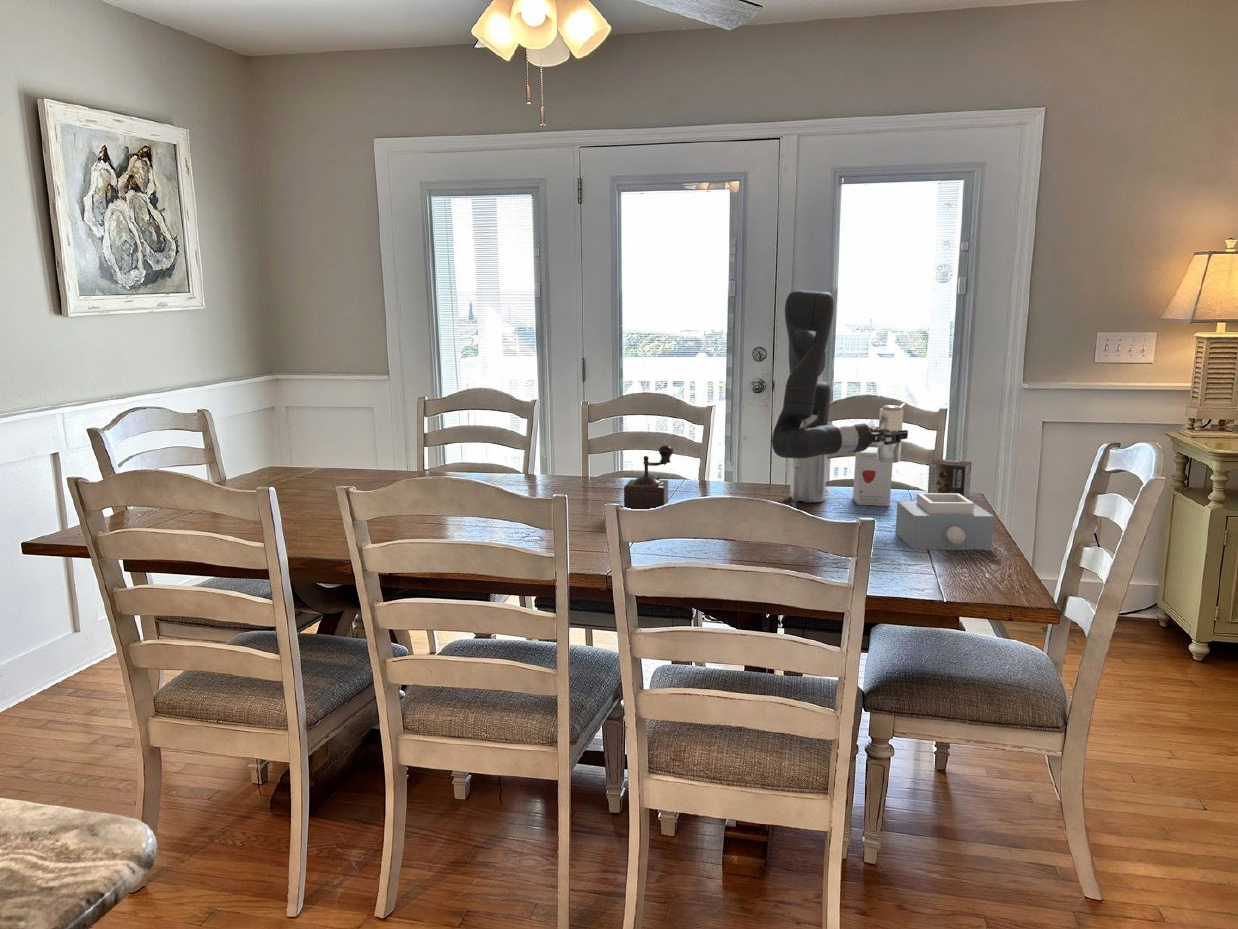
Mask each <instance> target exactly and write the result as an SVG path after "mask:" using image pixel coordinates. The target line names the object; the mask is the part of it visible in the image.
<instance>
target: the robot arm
mask: <svg viewBox="0 0 1238 929" xmlns="http://www.w3.org/2000/svg"><path fill="white" fill-rule="evenodd" d="M834 301H835V300H834V296H833V295H832V294H831V293H830V292H827V291H825V292H824V291H814V290H813V291H812V290H803V289H802V290H792V291H791V292H790V293H789V294H788V295H787V298H786V300H785V304H784V320H785V325H786V326H785V327H786V332H787V339H788V366H789V376H788V378H787V380H786V384H785V390H784V398H783V404H782V410H781V411H780V414H779V416H778V419H777V422H776V424H775V427H774V429H773V432H772V437H771V447H772V450H773V452H774V454H775V455H776V456H778V457H780V458H785V459H792V463H791V465H790V487H789V488H790V490H789V491H790V492H789V497H790V498H791V497H792V498H793V500H799V501H803V502H802V503H812V502H813V503H821V502H824V501H825V500H826V499H825V498H826V482H827V481H826V480H827V479H826V478H827V477H826V476H827V459H828V458H827V456H828V455H831V454H837V455H840V454H841V455H842V454H843V455H844V454H850V453H856V452H861V451H864V450H866V449H867V448H868V447H870V445H878V443H884V444H885V445H889V444H894V443H900V442H901V443H902V440H907V439H908V436H909V431H908V430H907V429H902V430H898V431H897V430H894V431H889V430H888V429H879V426H876V425H868V424H866V423H865V422H864V421H861V420H856V421H846V422H845V421H844V422H837V423H833V424H829V414H830V405H831V386H830V384H829V383H828V382H827V381H818V380H819V377H820V376H821V375H822V374H823V372H824V369H825V367H826V358H827V357H826V353H827V352H826V348H827V344H828V340H829V336H830V331H831V327H832V323H833V317H834V307H835V303H834ZM814 332H815V333H814ZM812 416H816V419H814V420H813V421H812V422H809V423H807V424H804V425H802V422H803V421H806V420H808V419H810V418H811V417H812ZM883 432H884V436H883ZM792 498H791V499H792ZM793 500H792V501H793ZM799 501H798V502H799Z"/></svg>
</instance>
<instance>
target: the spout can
mask: <svg viewBox="0 0 1238 929" xmlns="http://www.w3.org/2000/svg"><path fill="white" fill-rule="evenodd" d="M906 407H907V405H906V403H905V402H904V403H902V404H901V405H892V404H891V405H890V404H889V405H888V404H887V405H883V406H882V408H881V407H880V408H879V418H878V419H879V420H878V427H879V429H888V430H889V431H894V430H897V431H898V430H903V421H904V409H905V408H906ZM883 436H884V432H883ZM877 447H878V448H877V461H879V462H885V463H893V464H897V463H900V462H901V451H902V449H901V448H902V441H901V442H900V443H894V444H889V445H885V444H884V443H877Z"/></svg>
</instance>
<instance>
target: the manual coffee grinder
mask: <svg viewBox="0 0 1238 929" xmlns="http://www.w3.org/2000/svg"><path fill="white" fill-rule="evenodd" d="M658 454H660V455H659V456H660V460H659V462H650V461H649V456H648V455H644V456H643V465H644V474H643V475H642V476H639V477H637V478H635V479H630V480H629V481H627V483H626V484H625V485H624V487H623V508H624V507H627V508H631V509H650V508H656V507H659V506H662V505H664V504H666V503H668V504H669V480H668V479H667V480H665V479H660V478H661V476H660V475H659V476H658V477H656V476H654V475H653V474H651V475H650V474H649V466H652V467H658V466H662V465H664V466H666V465H667V464H668V463H669V464H671V463H672V462H671V456H672V455H673V454H674V448H673V447H672V446H671V445H661V446H660V447H659V448H658Z"/></svg>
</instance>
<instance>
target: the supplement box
mask: <svg viewBox="0 0 1238 929" xmlns="http://www.w3.org/2000/svg"><path fill="white" fill-rule="evenodd" d="M877 448H878V446H877V447H874V446H871V447H870V446H868V448H867V449H866V450H864V451H861V452H855V458H854V473H853V474H854V475H853V476H854V477H853V491H852V498H853V500H854V503H857V504H859V505H858V506H870V505H876V506H875V507H890V506H891V493H892V492H891V491H892V490H891V489H892V478H893V464H894V463H885V462H879V461H877ZM857 504H856V505H857Z"/></svg>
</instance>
